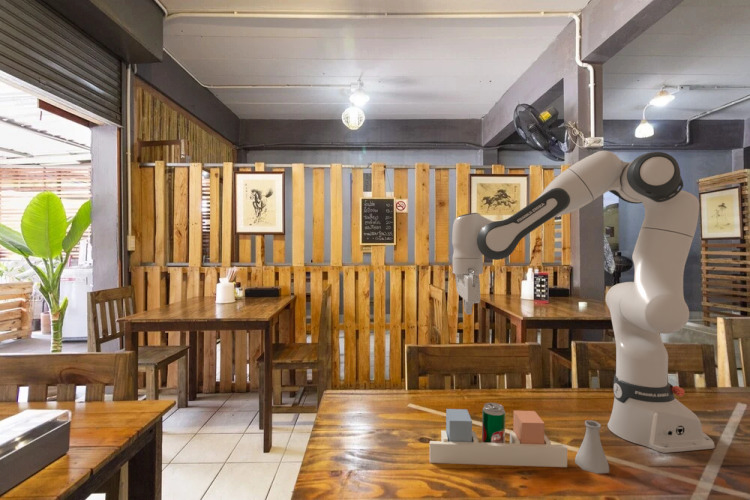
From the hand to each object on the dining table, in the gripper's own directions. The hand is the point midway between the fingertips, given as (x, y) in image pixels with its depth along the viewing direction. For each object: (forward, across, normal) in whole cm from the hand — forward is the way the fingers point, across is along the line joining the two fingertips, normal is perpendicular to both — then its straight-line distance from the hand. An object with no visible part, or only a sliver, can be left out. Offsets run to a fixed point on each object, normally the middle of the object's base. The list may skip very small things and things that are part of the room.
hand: (468, 313), depth 116 cm
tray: (+28, -23, -1) cm, 37 cm away
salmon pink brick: (+28, -27, -9) cm, 40 cm away
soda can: (+29, -27, -1) cm, 39 cm away
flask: (+29, -29, -22) cm, 47 cm away
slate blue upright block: (+28, -27, +7) cm, 39 cm away
